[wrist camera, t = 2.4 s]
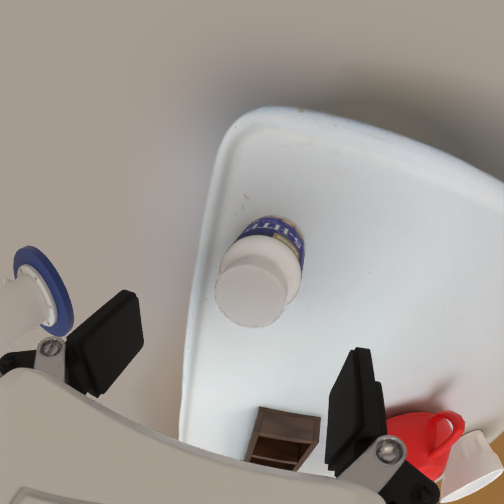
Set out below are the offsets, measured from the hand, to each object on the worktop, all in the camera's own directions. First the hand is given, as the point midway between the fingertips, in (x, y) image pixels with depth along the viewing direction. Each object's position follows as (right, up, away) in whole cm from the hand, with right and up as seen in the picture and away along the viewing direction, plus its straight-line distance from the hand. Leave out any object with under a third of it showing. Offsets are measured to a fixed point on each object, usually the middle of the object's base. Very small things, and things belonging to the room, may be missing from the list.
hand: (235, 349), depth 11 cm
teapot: (+22, -23, +18) cm, 36 cm away
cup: (+40, -31, +17) cm, 53 cm away
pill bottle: (+3, +5, +12) cm, 13 cm away
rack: (+4, -27, +24) cm, 36 cm away
